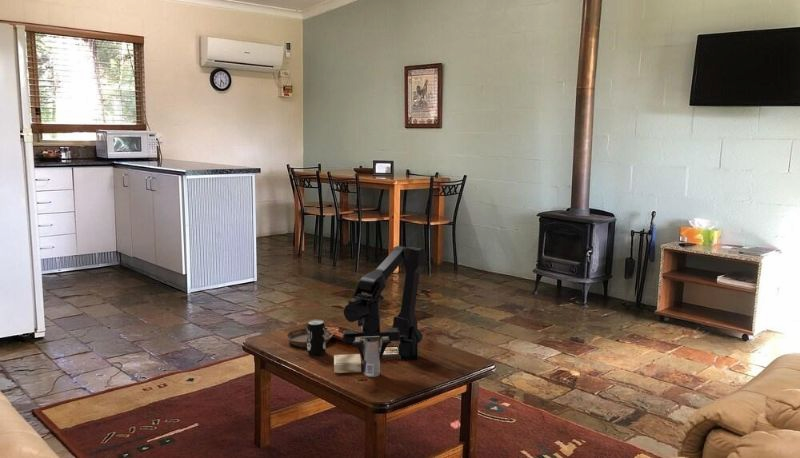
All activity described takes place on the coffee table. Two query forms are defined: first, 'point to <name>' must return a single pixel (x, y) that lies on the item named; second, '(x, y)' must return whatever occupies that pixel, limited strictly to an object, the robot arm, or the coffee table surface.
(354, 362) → the plinth
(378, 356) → the energy drink
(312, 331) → the beverage can
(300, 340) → the plant saucer
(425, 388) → the coffee table surface
